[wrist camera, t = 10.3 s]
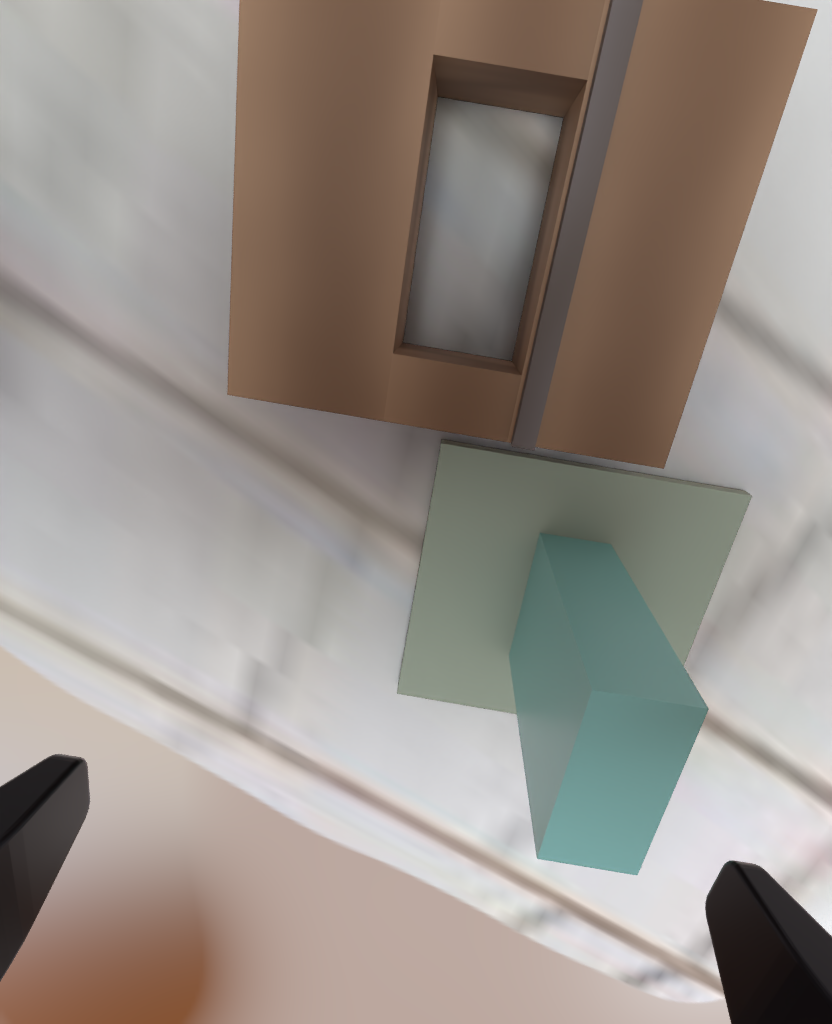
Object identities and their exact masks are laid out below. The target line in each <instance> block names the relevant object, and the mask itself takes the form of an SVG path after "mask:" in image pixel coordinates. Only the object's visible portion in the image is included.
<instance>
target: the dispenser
mask: <svg viewBox="0 0 832 1024" xmlns="http://www.w3.org/2000/svg"><path fill="white" fill-rule="evenodd" d="M817 10H818V9H812V8H806V7H799V6H793V5H787V4H781V3H775V2H769V1H763V0H240V4H239V37H238V69H237V101H236V133H235V166H234V198H233V230H232V262H231V295H230V327H229V359H228V391H227V395H232V396H238V397H244V398H250V399H256V400H261V401H267V402H273V403H279V404H285V405H291V406H297V407H303V408H309V409H315V410H320V411H326V412H332V413H338V414H344V415H350V416H356V417H362V418H368V419H374V420H380V421H385V422H391V423H397V424H403V425H409V426H415V427H421V428H427V429H433V430H439V431H444V432H450V433H456V434H462V435H468V436H474V437H480V438H486V439H492V440H498V441H503V442H509V443H511V445H512V447H517V448H523V449H529V450H535V447H539V448H545V449H551V450H557V451H563V452H568V453H574V454H580V455H586V456H592V457H598V458H604V459H610V460H616V461H622V462H627V463H633V464H639V465H645V466H651V467H657V468H663V469H664V467H665V464H666V461H667V458H668V455H669V452H670V449H671V446H672V443H673V440H674V437H675V434H676V431H677V428H678V425H679V422H680V419H681V416H682V413H683V410H684V407H685V404H686V401H687V398H688V395H689V392H690V389H691V386H692V383H693V380H694V377H695V374H696V371H697V368H698V365H699V362H700V359H701V356H702V353H703V350H704V347H705V344H706V341H707V338H708V335H709V332H710V329H711V326H712V323H713V320H714V317H715V314H716V311H717V309H718V306H719V303H720V300H721V297H722V294H723V291H724V288H725V285H726V282H727V279H728V276H729V273H730V270H731V267H732V264H733V261H734V258H735V255H736V252H737V249H738V246H739V243H740V240H741V237H742V234H743V231H744V228H745V225H746V222H747V219H748V216H749V213H750V210H751V207H752V204H753V201H754V198H755V195H756V192H757V189H758V186H759V183H760V180H761V177H762V174H763V171H764V168H765V165H766V162H767V159H768V156H769V153H770V150H771V147H772V144H773V141H774V138H775V135H776V132H777V129H778V126H779V123H780V120H781V117H782V114H783V111H784V108H785V105H786V102H787V99H788V96H789V93H790V90H791V87H792V84H793V81H794V79H795V76H796V73H797V70H798V67H799V64H800V61H801V58H802V55H803V52H804V49H805V46H806V43H807V40H808V37H809V34H810V31H811V28H812V25H813V22H814V19H815V16H816V13H817ZM438 96H439V97H445V98H451V99H457V100H463V101H469V102H475V103H481V104H487V105H493V106H499V107H505V108H511V109H517V110H523V111H529V112H534V113H540V114H546V115H552V116H558V117H564V119H563V123H562V128H561V133H560V137H559V142H558V147H557V151H556V156H555V161H554V166H553V170H552V175H551V180H550V184H549V189H548V194H547V198H546V203H545V208H544V212H543V217H542V222H541V226H540V231H539V236H538V240H537V245H536V250H535V254H534V259H533V264H532V269H531V273H530V278H529V283H528V287H527V292H526V297H525V301H524V306H523V311H522V315H521V320H520V325H519V329H518V334H517V339H516V343H515V348H514V353H513V358H512V361H508V360H502V359H496V358H490V357H484V356H478V355H472V354H467V353H461V352H455V351H449V350H443V349H437V348H431V347H425V346H419V345H413V344H407V343H403V338H404V331H405V324H406V317H407V310H408V303H409V296H410V289H411V282H412V275H413V268H414V260H415V253H416V246H417V239H418V232H419V225H420V218H421V211H422V204H423V197H424V190H425V183H426V176H427V169H428V162H429V155H430V148H431V141H432V133H433V126H434V119H435V112H436V105H437V98H438Z"/></svg>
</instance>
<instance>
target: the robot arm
mask: <svg viewBox="0 0 832 1024" xmlns="http://www.w3.org/2000/svg"><path fill="white" fill-rule="evenodd" d="M89 804H90V793H89V779H88V766H87V762H86V761H85V760H84V759H83V758H81V757H76V756H69V755H62V754H55V755H52V756H50V757H48V758H46V759H44V760H43V761H41V762H39V763H38V764H36V765H34V766H33V767H31V768H30V769H28V770H26V771H25V772H23V773H22V774H20V775H18V776H17V777H15V778H14V779H12V780H10V781H9V782H7V783H5V784H4V785H2V786H1V787H0V981H1V979H2V978H3V976H4V975H5V973H6V971H7V970H8V968H9V966H10V965H11V963H12V961H13V960H14V958H15V956H16V954H17V953H18V951H19V949H20V948H21V946H22V944H23V942H24V941H25V939H26V937H27V935H28V933H29V931H30V929H31V927H32V925H33V923H34V921H35V919H36V917H37V915H38V913H39V911H40V909H41V907H42V905H43V903H44V901H45V899H46V897H47V895H48V893H49V891H50V889H51V887H52V885H53V883H54V881H55V879H56V877H57V875H58V873H59V870H60V869H61V867H62V865H63V863H64V861H65V859H66V856H67V854H68V853H69V851H70V848H71V846H72V844H73V842H74V840H75V838H76V836H77V834H78V832H79V830H80V828H81V826H82V824H83V822H84V820H85V818H86V815H87V812H88V809H89ZM705 910H706V918H707V922H708V926H709V931H710V935H711V939H712V944H713V948H714V952H715V956H716V961H717V965H718V969H719V973H720V978H721V982H722V986H723V990H724V995H725V999H726V1003H727V1007H728V1012H729V1016H730V1020H731V1024H832V936H831V935H830V934H829V933H828V932H827V931H826V930H825V929H824V928H823V927H822V926H821V925H820V924H819V923H818V922H817V921H816V920H815V919H814V918H813V917H812V916H811V915H810V914H809V913H808V912H807V911H806V910H805V909H804V908H803V907H802V906H801V905H800V904H799V903H798V902H797V901H795V900H794V899H793V898H792V897H791V896H790V895H789V894H788V893H787V892H786V891H785V890H784V889H783V888H782V887H781V886H780V885H779V884H778V883H777V882H776V881H775V880H774V879H773V878H772V877H771V876H770V875H769V874H768V873H767V872H766V871H765V870H764V869H763V868H761V867H760V866H758V865H756V864H752V863H746V862H739V861H729V862H727V863H725V864H724V866H723V867H722V869H721V871H720V873H719V875H718V877H717V879H716V880H715V882H714V884H713V886H712V888H711V890H710V891H709V893H708V895H707V899H706V906H705Z"/></svg>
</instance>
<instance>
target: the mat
mask: <svg viewBox="0 0 832 1024" xmlns="http://www.w3.org/2000/svg"><path fill="white" fill-rule="evenodd" d="M751 497H752V496H751V495H750V494H749V493H747V492H746V491H743V490H737V489H731V488H725V487H720V486H714V485H708V484H702V483H696V482H690V481H684V480H678V479H672V478H666V477H661V476H655V475H649V474H643V473H637V472H631V471H625V470H619V469H613V468H607V467H602V466H596V465H590V464H584V463H578V462H572V461H566V460H560V459H554V458H548V457H543V456H537V455H531V454H525V453H519V452H513V451H507V450H501V449H495V448H489V447H484V446H478V445H472V444H466V443H460V442H454V441H448V440H442V441H441V446H440V452H439V458H438V463H437V469H436V475H435V480H434V486H433V492H432V497H431V503H430V508H429V514H428V520H427V525H426V531H425V537H424V542H423V548H422V554H421V559H420V565H419V570H418V576H417V582H416V587H415V593H414V599H413V604H412V610H411V616H410V621H409V627H408V632H407V638H406V644H405V649H404V655H403V661H402V666H401V672H400V678H399V683H398V690H397V694H402V695H408V696H414V697H420V698H425V699H431V700H437V701H443V702H449V703H455V704H460V705H466V706H472V707H478V708H484V709H490V710H495V711H501V712H507V713H513V714H517V711H516V704H515V697H514V690H513V683H512V675H511V668H510V661H509V653H510V649H511V645H512V641H513V637H514V633H515V629H516V625H517V621H518V617H519V613H520V609H521V605H522V601H523V597H524V593H525V590H526V586H527V582H528V578H529V574H530V570H531V566H532V562H533V558H534V554H535V550H536V546H537V542H538V538H539V534H540V533H545V534H551V535H557V536H563V537H569V538H576V539H582V540H588V541H594V542H600V543H606V544H611V545H612V547H613V549H614V550H615V552H616V554H617V555H618V557H619V559H620V560H621V562H622V564H623V565H624V567H625V569H626V570H627V572H628V574H629V576H630V577H631V579H632V581H633V582H634V584H635V586H636V587H637V589H638V591H639V592H640V594H641V596H642V597H643V599H644V601H645V603H646V604H647V606H648V608H649V609H650V611H651V613H652V614H653V616H654V618H655V619H656V621H657V623H658V625H659V626H660V628H661V630H662V631H663V633H664V635H665V636H666V638H667V640H668V641H669V643H670V645H671V646H672V648H673V650H674V652H675V653H676V655H677V657H678V658H679V660H680V662H681V663H682V665H683V666H684V663H685V661H686V659H687V656H688V654H689V651H690V649H691V646H692V644H693V641H694V639H695V636H696V634H697V631H698V629H699V626H700V624H701V621H702V619H703V616H704V614H705V611H706V609H707V606H708V604H709V602H710V599H711V597H712V594H713V592H714V589H715V587H716V584H717V582H718V579H719V577H720V574H721V572H722V569H723V567H724V564H725V562H726V559H727V557H728V554H729V552H730V549H731V547H732V545H733V542H734V540H735V537H736V535H737V532H738V530H739V527H740V525H741V522H742V520H743V517H744V515H745V512H746V510H747V507H748V505H749V502H750V500H751Z"/></svg>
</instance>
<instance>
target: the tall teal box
mask: <svg viewBox="0 0 832 1024" xmlns="http://www.w3.org/2000/svg"><path fill="white" fill-rule="evenodd" d="M509 661H510V668H511V675H512V683H513V690H514V697H515V704H516V711H517V719H518V726H519V733H520V740H521V747H522V755H523V762H524V769H525V776H526V783H527V790H528V798H529V805H530V812H531V819H532V826H533V834H534V841H535V848H536V855H537V859H542V860H548V861H554V862H560V863H566V864H572V865H578V866H584V867H590V868H596V869H602V870H608V871H614V872H620V873H626V874H632V875H638V872H639V870H640V868H641V865H642V863H643V861H644V858H645V856H646V854H647V851H648V849H649V847H650V844H651V842H652V840H653V837H654V835H655V833H656V830H657V828H658V826H659V823H660V821H661V819H662V816H663V814H664V812H665V809H666V807H667V805H668V802H669V800H670V798H671V796H672V793H673V791H674V789H675V786H676V784H677V782H678V779H679V777H680V775H681V772H682V770H683V768H684V765H685V763H686V761H687V758H688V756H689V754H690V751H691V749H692V747H693V744H694V742H695V740H696V737H697V735H698V733H699V730H700V728H701V726H702V723H703V721H704V719H705V716H706V714H707V712H708V707H707V706H706V704H705V702H704V700H703V699H702V697H701V695H700V694H699V692H698V690H697V689H696V687H695V685H694V684H693V682H692V680H691V679H690V677H689V675H688V673H687V672H686V670H685V668H684V667H683V665H682V663H681V662H680V660H679V658H678V657H677V655H676V653H675V652H674V650H673V648H672V646H671V645H670V643H669V641H668V640H667V638H666V636H665V635H664V633H663V631H662V630H661V628H660V626H659V625H658V623H657V621H656V619H655V618H654V616H653V614H652V613H651V611H650V609H649V608H648V606H647V604H646V603H645V601H644V599H643V597H642V596H641V594H640V592H639V591H638V589H637V587H636V586H635V584H634V582H633V581H632V579H631V577H630V576H629V574H628V572H627V570H626V569H625V567H624V565H623V564H622V562H621V560H620V559H619V557H618V555H617V554H616V552H615V550H614V549H613V547H612V545H611V544H606V543H600V542H594V541H588V540H582V539H576V538H569V537H563V536H557V535H551V534H545V533H540V534H539V538H538V542H537V546H536V550H535V554H534V558H533V562H532V566H531V570H530V574H529V578H528V582H527V586H526V590H525V593H524V597H523V601H522V605H521V609H520V613H519V617H518V621H517V625H516V629H515V633H514V637H513V641H512V645H511V649H510V653H509Z"/></svg>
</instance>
